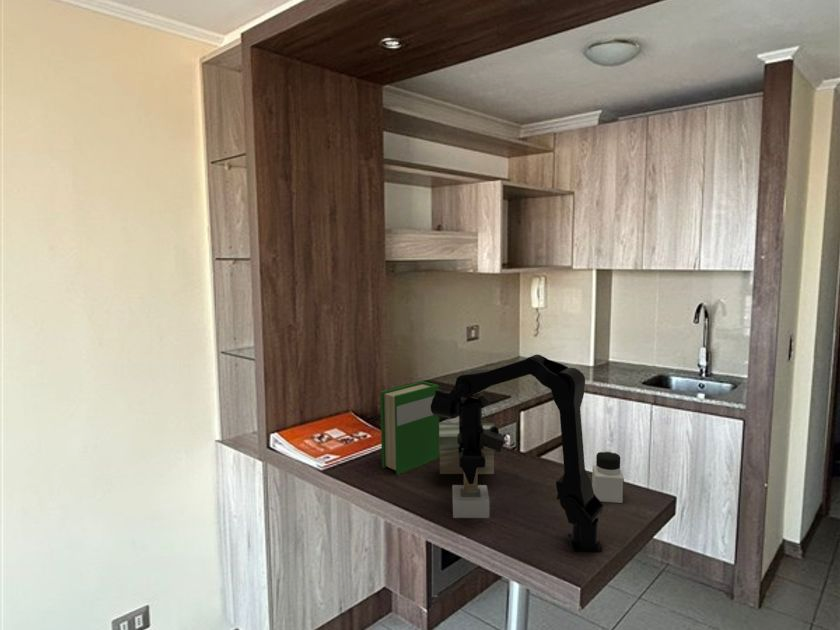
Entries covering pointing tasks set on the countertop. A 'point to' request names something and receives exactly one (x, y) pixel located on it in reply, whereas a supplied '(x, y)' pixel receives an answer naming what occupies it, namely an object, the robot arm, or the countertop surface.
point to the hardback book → (409, 426)
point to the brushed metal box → (451, 453)
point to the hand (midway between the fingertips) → (470, 480)
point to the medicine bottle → (608, 477)
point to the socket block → (470, 502)
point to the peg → (471, 487)
